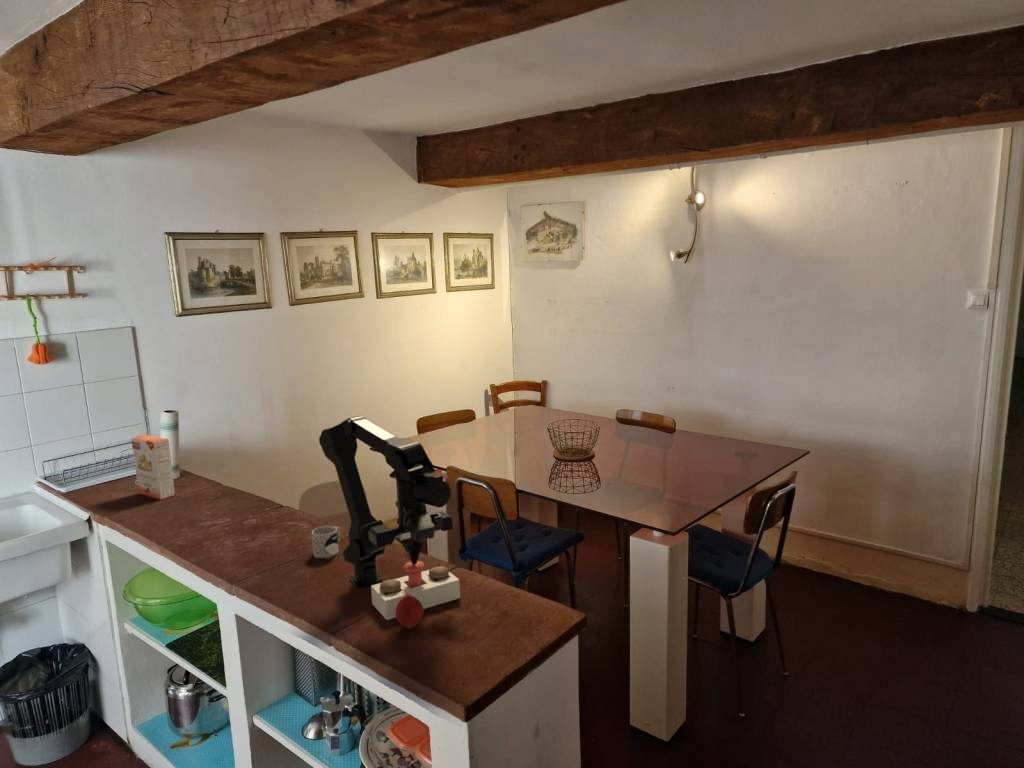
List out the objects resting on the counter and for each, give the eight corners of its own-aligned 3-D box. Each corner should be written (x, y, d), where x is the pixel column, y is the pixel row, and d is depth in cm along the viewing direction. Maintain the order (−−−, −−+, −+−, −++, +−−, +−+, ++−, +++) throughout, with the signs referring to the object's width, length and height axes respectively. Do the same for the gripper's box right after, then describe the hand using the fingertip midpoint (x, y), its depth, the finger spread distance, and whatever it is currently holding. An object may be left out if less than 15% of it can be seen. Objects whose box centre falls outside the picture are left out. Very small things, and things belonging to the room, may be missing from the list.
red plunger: (402, 586, 161) (400, 564, 160) (420, 581, 163) (419, 559, 162) (410, 594, 157) (408, 571, 156) (428, 588, 159) (427, 565, 158)
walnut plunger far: (426, 591, 164) (425, 569, 163) (444, 586, 166) (443, 565, 166) (435, 599, 160) (433, 576, 159) (453, 593, 163) (452, 571, 162)
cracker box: (137, 494, 248) (130, 437, 244) (154, 489, 253) (147, 433, 249) (159, 500, 240) (152, 441, 237) (176, 495, 245) (169, 437, 242)
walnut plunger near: (378, 605, 158) (376, 583, 157) (397, 600, 160) (396, 577, 159) (385, 613, 154) (384, 590, 153) (405, 608, 156) (403, 585, 156)
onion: (425, 620, 151) (423, 586, 150) (422, 634, 146) (420, 598, 144) (398, 621, 151) (396, 587, 150) (395, 635, 145) (392, 599, 144)
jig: (372, 604, 160) (371, 585, 159) (443, 583, 169) (442, 566, 168) (386, 620, 152) (385, 600, 151) (460, 597, 161) (459, 579, 160)
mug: (329, 560, 185) (327, 536, 184) (308, 557, 187) (306, 534, 186) (350, 545, 195) (348, 523, 194) (329, 543, 197) (327, 520, 196)
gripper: (383, 517, 145) (388, 587, 147) (463, 499, 154) (466, 566, 157) (365, 503, 154) (370, 569, 157) (441, 487, 164) (445, 550, 166)
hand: (414, 563), depth 159 cm, fingers closed
